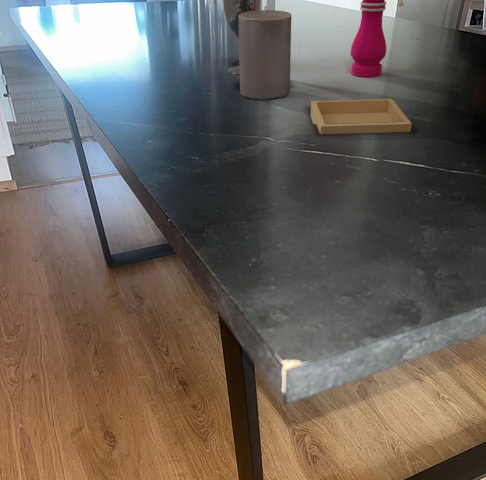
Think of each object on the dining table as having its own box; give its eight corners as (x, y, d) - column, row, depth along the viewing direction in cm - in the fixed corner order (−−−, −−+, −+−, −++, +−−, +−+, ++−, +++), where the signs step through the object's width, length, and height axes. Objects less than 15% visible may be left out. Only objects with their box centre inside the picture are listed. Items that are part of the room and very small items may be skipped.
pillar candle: (250, 84, 107) (248, 1, 99) (296, 88, 104) (299, 2, 96) (232, 97, 100) (228, 9, 91) (281, 102, 97) (282, 11, 88)
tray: (389, 113, 90) (391, 98, 89) (409, 140, 80) (412, 123, 78) (310, 116, 90) (311, 100, 89) (319, 143, 80) (320, 126, 78)
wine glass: (266, 67, 118) (267, -9, 109) (252, 76, 112) (251, -4, 104) (235, 64, 121) (232, -10, 112) (219, 72, 115) (215, -5, 106)
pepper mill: (341, 73, 112) (350, -36, 100) (363, 67, 116) (374, -39, 104) (368, 80, 108) (380, -35, 96) (390, 73, 111) (404, -38, 100)
